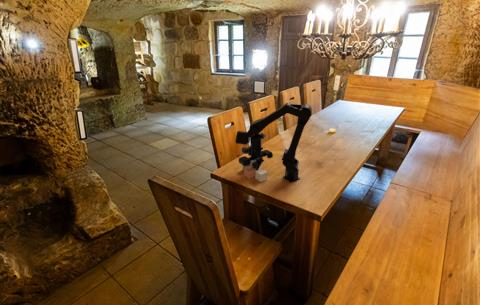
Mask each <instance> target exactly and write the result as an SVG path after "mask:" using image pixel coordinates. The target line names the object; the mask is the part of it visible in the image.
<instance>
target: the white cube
mask: <svg viewBox="0 0 480 305" xmlns="http://www.w3.org/2000/svg"><path fill="white" fill-rule="evenodd" d="M254 178H255V180H256V181H258V182H259V183H262V182H264V181H265V182H266V180H268V171H266V170H265V169H263V168H259V169H258V170H257V171H255V177H254Z"/></svg>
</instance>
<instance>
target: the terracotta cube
mask: <svg viewBox="0 0 480 305" xmlns="http://www.w3.org/2000/svg"><path fill="white" fill-rule="evenodd" d="M255 171H256V169H255V168H253V167H252V166H249V167H246V168H244V170H243V176H244V177H245V178H247V180H250V179H252V178H255Z"/></svg>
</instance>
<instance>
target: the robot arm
mask: <svg viewBox="0 0 480 305" xmlns="http://www.w3.org/2000/svg"><path fill="white" fill-rule="evenodd" d="M312 111H313V108H312V106H311V105H310V104H306V103H305V104H299V103H289V102H286V103H284V104H283V105H282V106H280V107H279V108H277V109H276V110H275V111H273V112H271V113H269V114H268V115H266V116H265V117H261V118H258V119H256V120H254V121H253V122H252V123H251V124H250V125H249V128H248V130H247V131H240V130H238V131H237V132H236V136H235V143H236V145H244V146H243V147H241V153H242V154H245V155H244V156H240V157H238V163H239V164H240V165H242V167H243V166H248V165H250V164H251V163H252V165H253V168H255V169H256V171H257V170H260V167H261V165H262V164H263V163H264V162H265V160H264V158H267V159H272V158H273V157H274V154H273V152H272V151H270V150H268V149H264V148H263V146H262V142H263V141H262V140H264V139H265V138H266V135H265V133H263V132H262V131H264V129H265V128H266V127H267V126H269V125H270V124H272V123H274V122H275V121H276V120H279V119H281V117H283V116H285V115H287V114H289V115H291V116H294V117H297V122H296V126H295V129H294V132H293V135H292V138H291V141H290V144H289V146H288V148H284V151H283V154H282V157H281V161H282V162H281V164H282V165H283V166H284V167H285V171H284V176H282V178H283V179H285V180H286V181H288V182H289V183H293V182H297V181H298V180H301V177H299V170H300V169H299V164H300V161H299V160H298V159H297V157H296V155H297V148H298V147H299V143H300V140H301V138H302V135H303V133H304V129H305V126H306V125H307V124H308V123H309V120H310V119H311V117H312ZM248 144H250V145H249V146H248V147H247V146H245V145H248ZM246 155H247V156H246Z"/></svg>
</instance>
